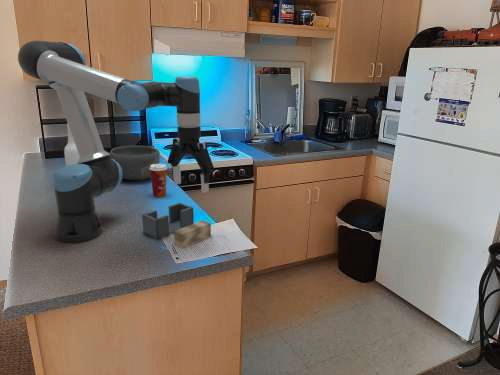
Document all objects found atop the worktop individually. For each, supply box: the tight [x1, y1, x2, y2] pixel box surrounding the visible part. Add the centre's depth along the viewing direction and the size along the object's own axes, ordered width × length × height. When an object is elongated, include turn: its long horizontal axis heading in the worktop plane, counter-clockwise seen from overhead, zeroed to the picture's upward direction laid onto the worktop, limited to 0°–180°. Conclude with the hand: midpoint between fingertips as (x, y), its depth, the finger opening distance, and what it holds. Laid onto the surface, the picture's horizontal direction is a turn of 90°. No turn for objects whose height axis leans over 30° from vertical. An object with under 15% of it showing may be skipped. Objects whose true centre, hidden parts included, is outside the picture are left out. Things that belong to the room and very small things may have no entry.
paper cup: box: [149, 163, 168, 198], centre depth 171 cm, size 8×8×14 cm
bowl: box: [109, 145, 161, 181], centre depth 195 cm, size 24×24×15 cm
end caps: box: [141, 202, 195, 240], centre depth 138 cm, size 17×8×7 cm, turn 140°
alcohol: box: [63, 122, 80, 166], centre depth 177 cm, size 9×9×30 cm
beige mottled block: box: [173, 219, 212, 248], centre depth 131 cm, size 13×4×5 cm, turn 140°
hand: (190, 188), depth 131 cm, fingers open, 13 cm apart
